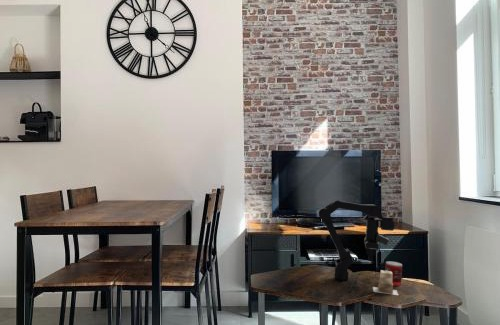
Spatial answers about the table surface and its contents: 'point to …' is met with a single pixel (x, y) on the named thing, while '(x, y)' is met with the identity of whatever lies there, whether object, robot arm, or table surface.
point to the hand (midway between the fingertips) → (370, 259)
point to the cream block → (385, 288)
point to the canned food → (395, 272)
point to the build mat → (383, 292)
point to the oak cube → (386, 277)
